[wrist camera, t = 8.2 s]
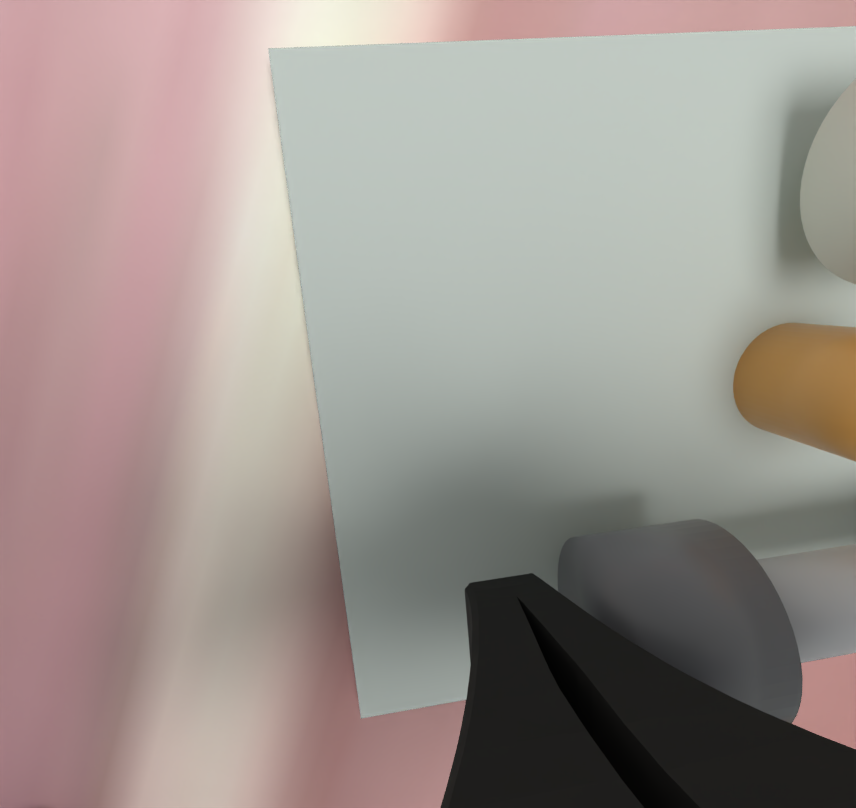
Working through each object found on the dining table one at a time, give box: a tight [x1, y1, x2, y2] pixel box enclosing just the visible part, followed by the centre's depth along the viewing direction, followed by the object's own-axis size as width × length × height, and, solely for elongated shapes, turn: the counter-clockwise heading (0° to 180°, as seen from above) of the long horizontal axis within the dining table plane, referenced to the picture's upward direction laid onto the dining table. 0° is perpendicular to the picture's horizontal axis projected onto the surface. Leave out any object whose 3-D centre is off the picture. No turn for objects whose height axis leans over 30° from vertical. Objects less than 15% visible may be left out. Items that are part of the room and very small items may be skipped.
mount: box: [268, 26, 856, 718], centre depth 9 cm, size 15×14×6 cm
